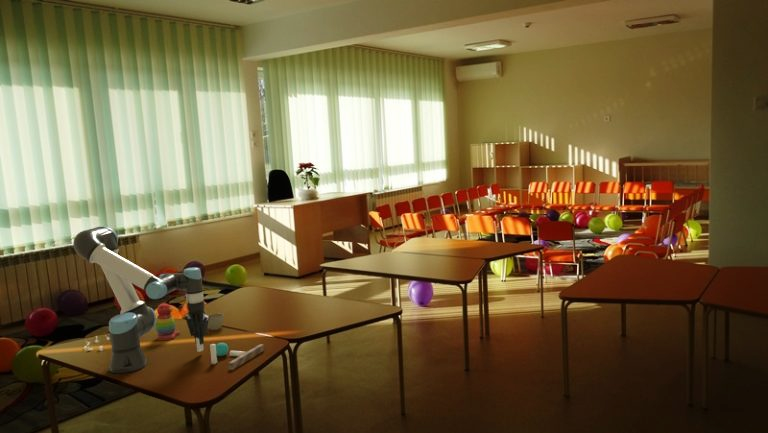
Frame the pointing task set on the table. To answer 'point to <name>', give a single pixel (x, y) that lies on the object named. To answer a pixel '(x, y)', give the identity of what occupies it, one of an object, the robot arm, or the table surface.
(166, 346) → the table surface
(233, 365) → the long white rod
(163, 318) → the stacking bear
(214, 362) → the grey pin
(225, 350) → the ball
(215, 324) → the grey round cup
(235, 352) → the ivory pin
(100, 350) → the game piece set
